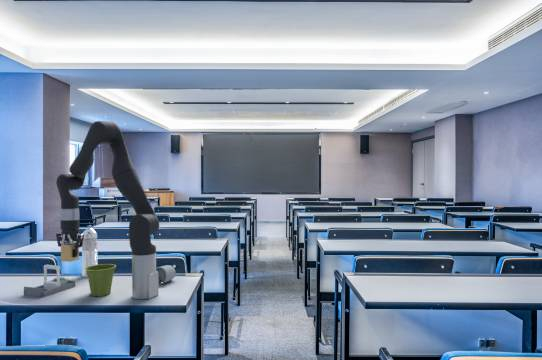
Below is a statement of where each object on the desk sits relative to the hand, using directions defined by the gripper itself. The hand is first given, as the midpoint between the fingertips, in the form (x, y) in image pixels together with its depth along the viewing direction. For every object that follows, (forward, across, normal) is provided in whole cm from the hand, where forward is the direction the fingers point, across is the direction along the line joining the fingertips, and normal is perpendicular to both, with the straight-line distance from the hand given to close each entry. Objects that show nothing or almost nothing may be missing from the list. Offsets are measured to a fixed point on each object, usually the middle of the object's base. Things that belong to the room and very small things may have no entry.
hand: (70, 256), depth 166 cm
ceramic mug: (+13, +36, +17) cm, 42 cm away
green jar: (+12, 0, -6) cm, 14 cm away
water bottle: (+13, -3, +15) cm, 20 cm away
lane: (+13, 0, -10) cm, 16 cm away
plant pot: (+13, +23, -6) cm, 27 cm away
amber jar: (+2, 0, 0) cm, 2 cm away
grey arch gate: (+12, 0, -10) cm, 15 cm away
